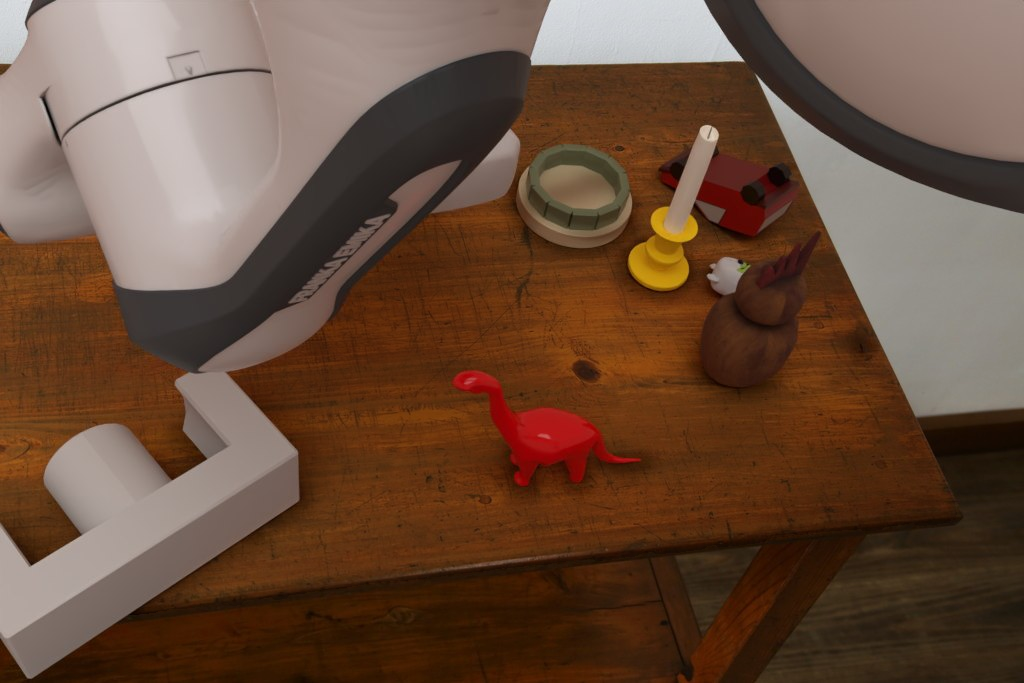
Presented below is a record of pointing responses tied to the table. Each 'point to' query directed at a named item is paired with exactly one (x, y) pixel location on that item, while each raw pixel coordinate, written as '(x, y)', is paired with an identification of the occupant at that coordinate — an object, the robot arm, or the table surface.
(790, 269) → the wooden figurine
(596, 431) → the dinosaur
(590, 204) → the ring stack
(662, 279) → the candle
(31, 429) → the table surface
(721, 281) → the toy
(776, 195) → the toy truck
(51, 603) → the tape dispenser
